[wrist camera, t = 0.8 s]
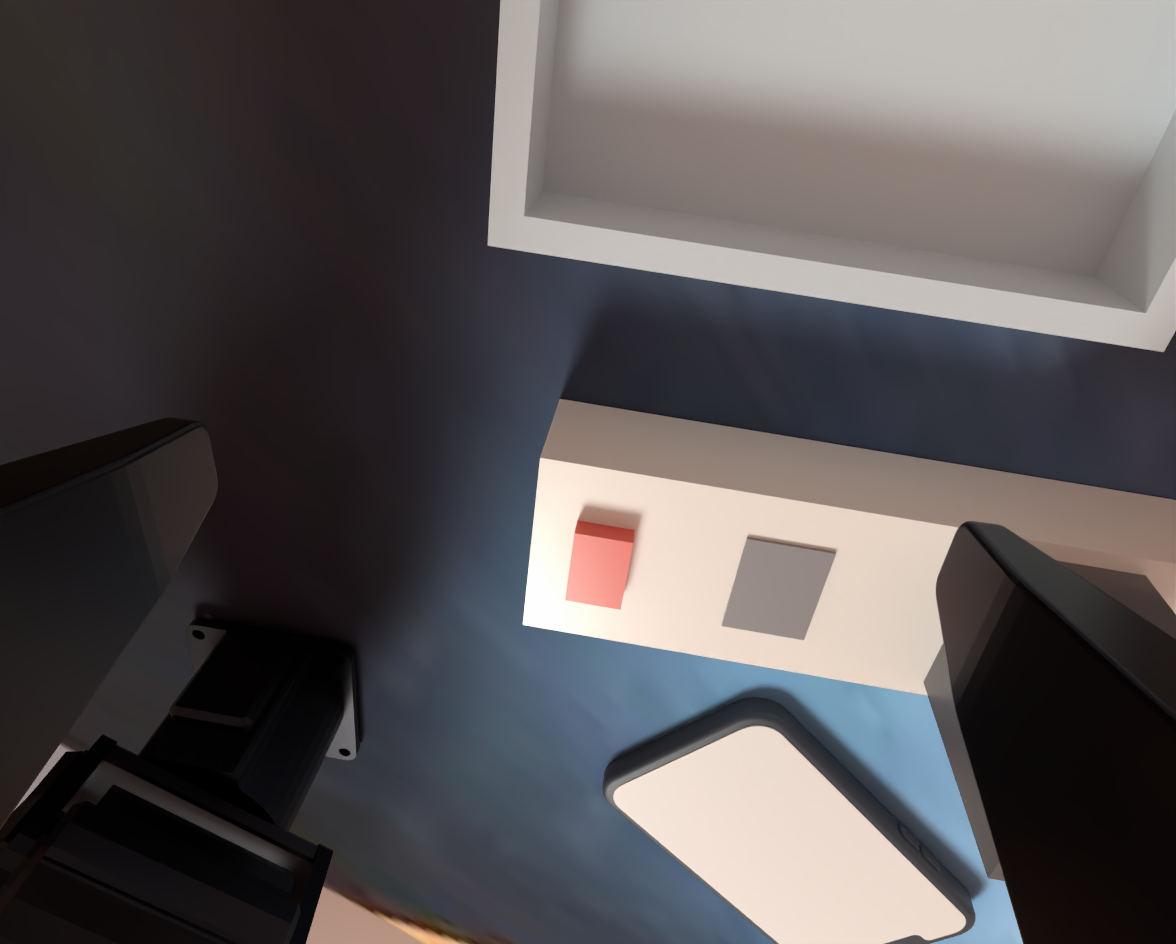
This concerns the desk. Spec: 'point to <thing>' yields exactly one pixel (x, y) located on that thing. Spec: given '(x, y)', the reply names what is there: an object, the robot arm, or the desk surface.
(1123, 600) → the charger
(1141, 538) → the power strip
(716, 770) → the phone case
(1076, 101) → the tray
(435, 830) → the desk surface
